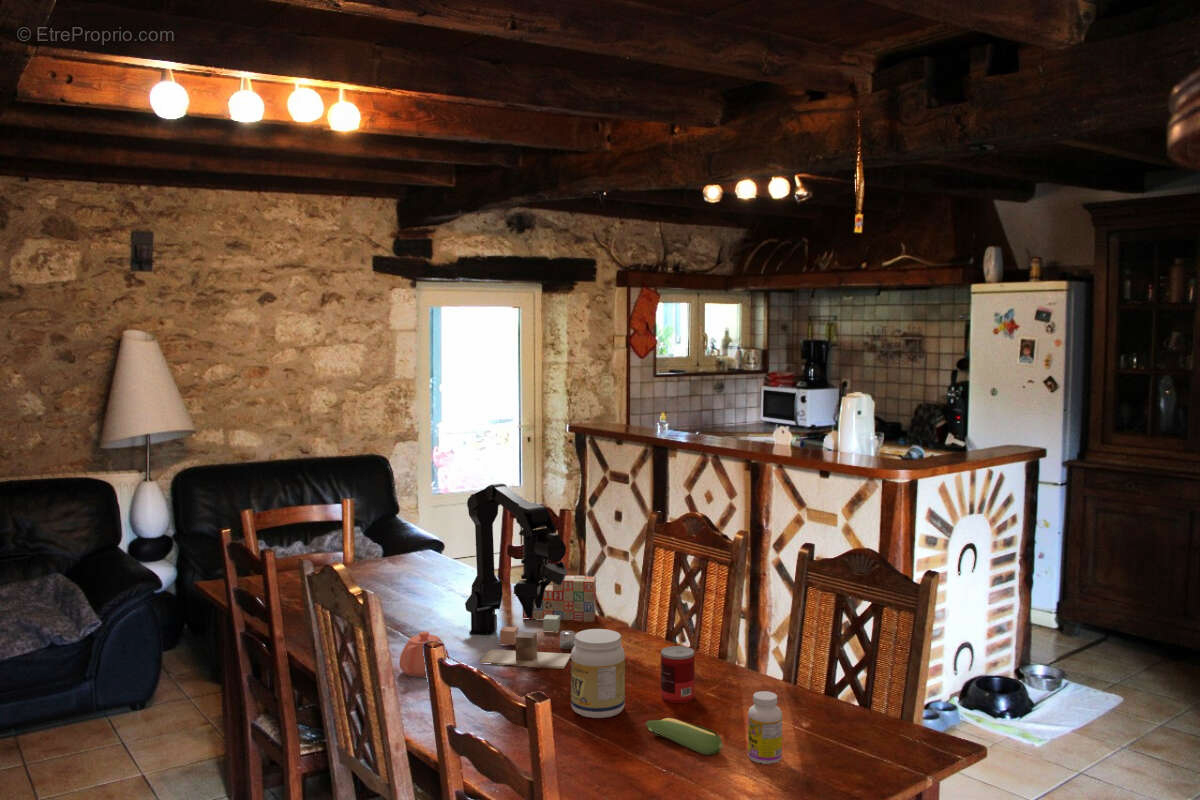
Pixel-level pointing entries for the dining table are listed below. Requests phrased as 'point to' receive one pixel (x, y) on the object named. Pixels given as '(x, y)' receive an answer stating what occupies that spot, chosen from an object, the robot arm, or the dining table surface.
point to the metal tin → (567, 639)
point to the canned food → (677, 674)
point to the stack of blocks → (569, 600)
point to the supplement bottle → (765, 729)
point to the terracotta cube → (508, 635)
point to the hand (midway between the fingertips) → (534, 612)
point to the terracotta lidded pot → (416, 654)
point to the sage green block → (551, 623)
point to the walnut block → (526, 646)
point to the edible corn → (687, 735)
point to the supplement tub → (597, 673)
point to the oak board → (540, 661)
